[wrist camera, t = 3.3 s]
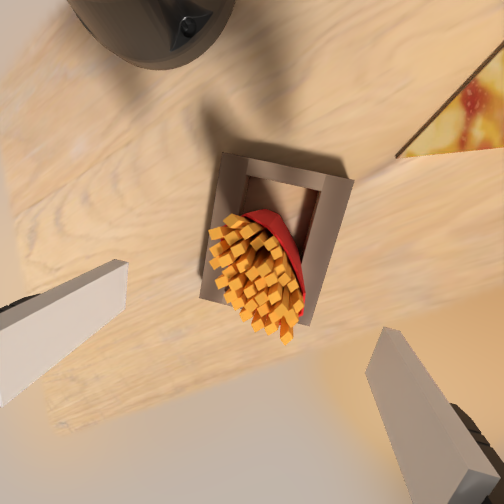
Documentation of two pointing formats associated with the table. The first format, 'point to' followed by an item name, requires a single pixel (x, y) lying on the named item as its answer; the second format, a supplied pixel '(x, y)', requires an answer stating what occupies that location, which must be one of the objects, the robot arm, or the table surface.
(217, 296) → the fry holder
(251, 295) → the french fries
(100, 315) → the robot arm
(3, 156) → the table surface
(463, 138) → the pizza slice
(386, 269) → the table surface
